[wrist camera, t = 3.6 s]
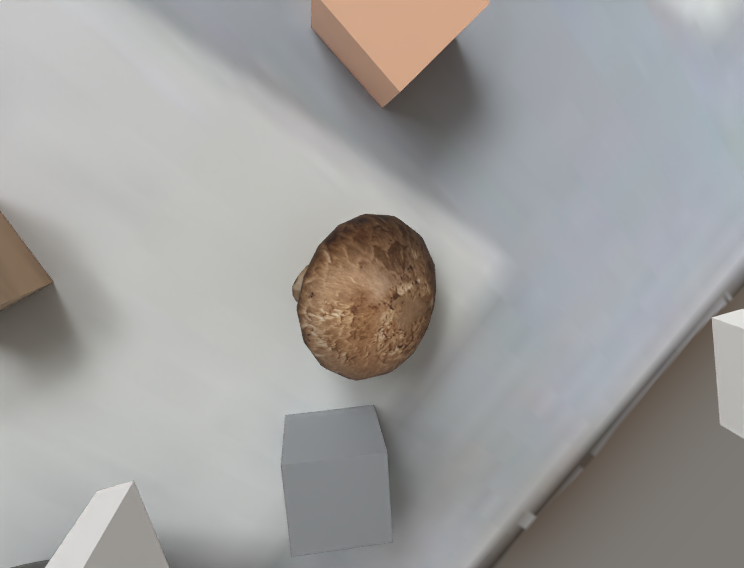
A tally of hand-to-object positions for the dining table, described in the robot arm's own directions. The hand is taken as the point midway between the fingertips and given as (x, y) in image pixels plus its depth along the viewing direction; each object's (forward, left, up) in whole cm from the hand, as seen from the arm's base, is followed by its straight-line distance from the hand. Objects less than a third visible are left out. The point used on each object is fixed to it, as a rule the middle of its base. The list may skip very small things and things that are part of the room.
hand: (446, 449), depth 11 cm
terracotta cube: (+4, +12, -16) cm, 21 cm away
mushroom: (0, 0, -17) cm, 17 cm away
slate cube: (-4, -9, -16) cm, 19 cm away
